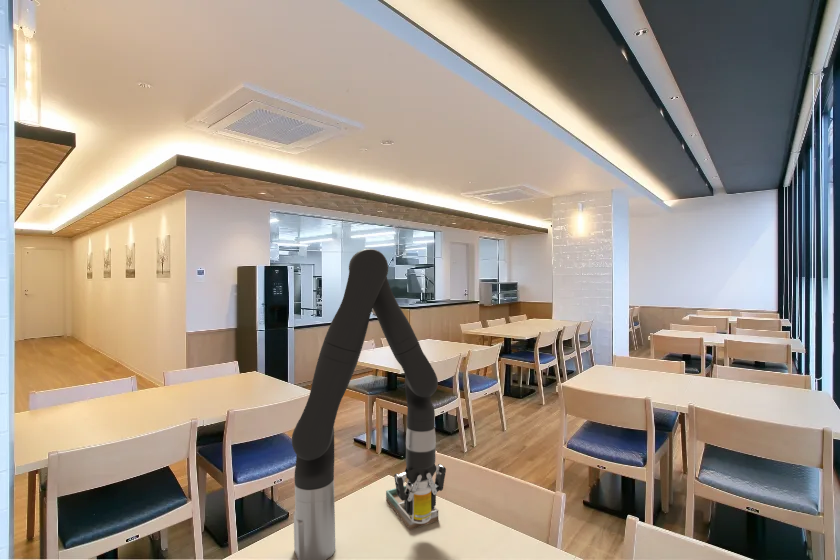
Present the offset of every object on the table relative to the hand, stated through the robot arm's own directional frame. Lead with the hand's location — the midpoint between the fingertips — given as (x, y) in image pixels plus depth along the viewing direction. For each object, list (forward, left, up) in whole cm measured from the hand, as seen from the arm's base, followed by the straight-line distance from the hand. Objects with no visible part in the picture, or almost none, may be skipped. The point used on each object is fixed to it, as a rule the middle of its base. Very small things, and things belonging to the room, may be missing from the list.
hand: (420, 510), depth 107 cm
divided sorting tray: (+3, +12, -6) cm, 14 cm away
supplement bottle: (0, 0, -2) cm, 2 cm away
